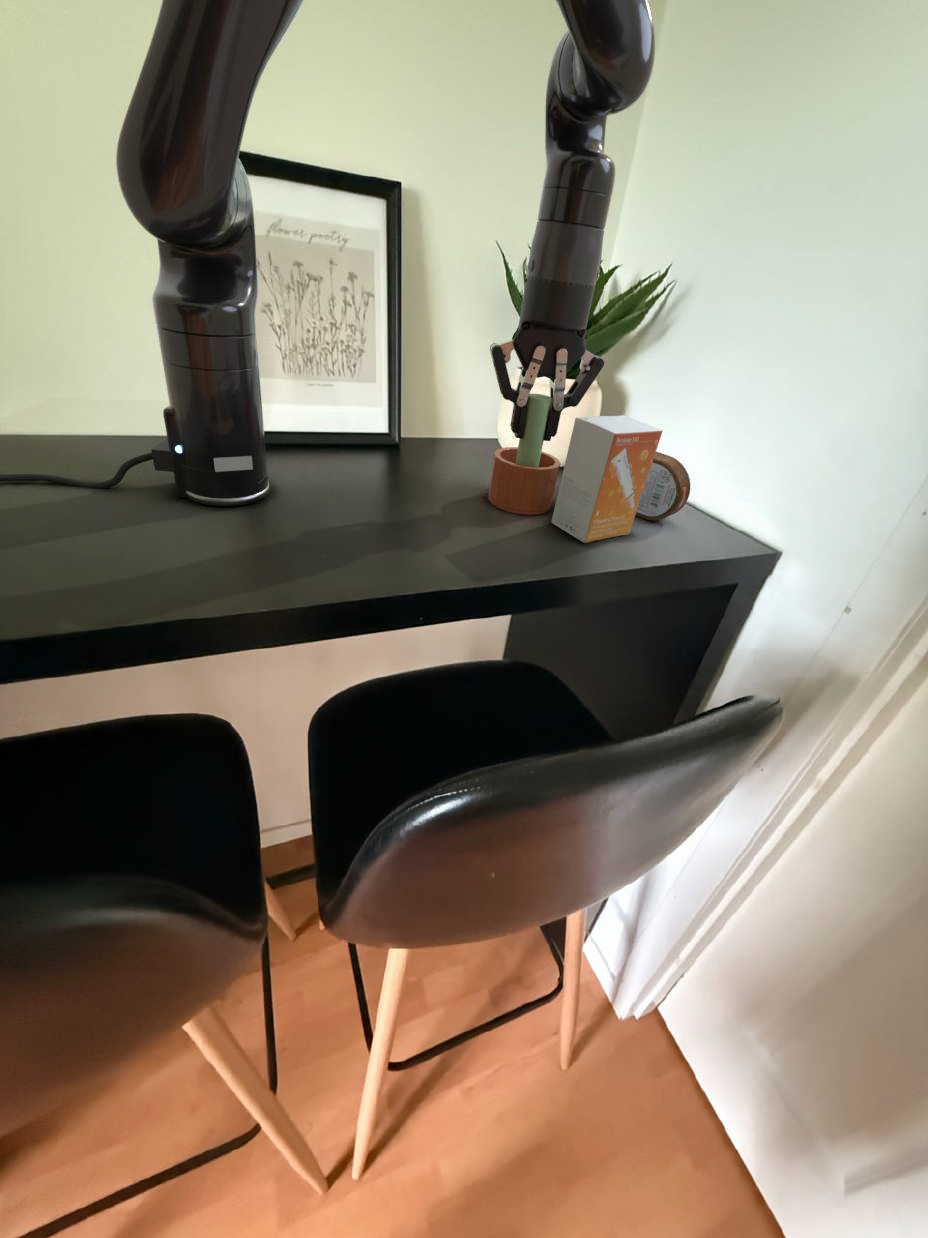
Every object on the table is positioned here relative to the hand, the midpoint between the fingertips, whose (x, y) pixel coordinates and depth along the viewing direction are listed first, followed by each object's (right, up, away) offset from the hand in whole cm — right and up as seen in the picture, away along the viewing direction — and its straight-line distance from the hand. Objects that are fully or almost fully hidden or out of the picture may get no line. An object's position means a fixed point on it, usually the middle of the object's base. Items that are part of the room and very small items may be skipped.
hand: (531, 437), depth 69 cm
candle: (-1, -6, +4) cm, 7 cm away
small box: (+7, -12, 0) cm, 14 cm away
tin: (+14, -8, +8) cm, 17 cm away
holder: (-1, -7, +5) cm, 9 cm away
